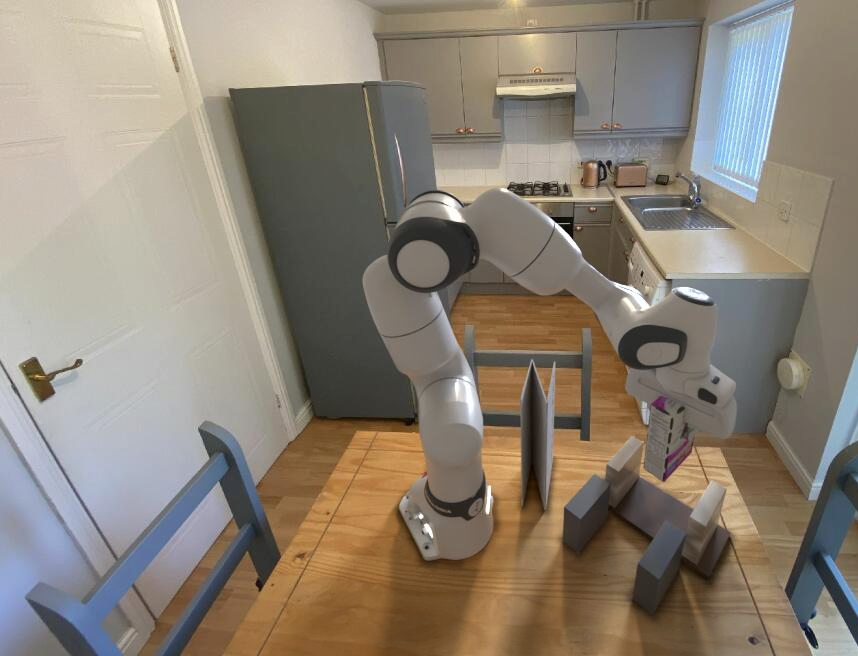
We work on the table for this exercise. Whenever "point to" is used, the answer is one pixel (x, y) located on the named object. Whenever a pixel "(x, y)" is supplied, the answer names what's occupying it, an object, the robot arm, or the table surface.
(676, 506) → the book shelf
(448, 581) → the table surface
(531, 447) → the brochure
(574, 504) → the dark gray block pair
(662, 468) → the candy bar box
